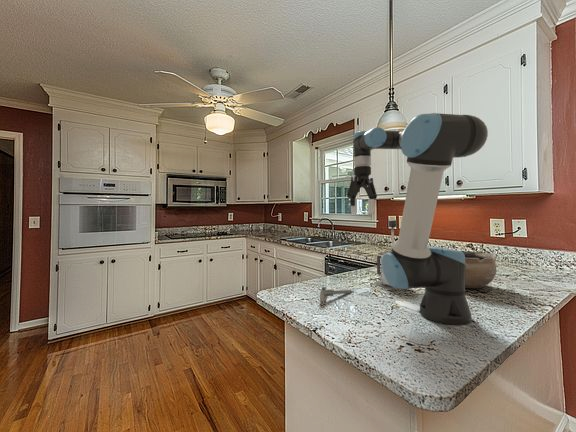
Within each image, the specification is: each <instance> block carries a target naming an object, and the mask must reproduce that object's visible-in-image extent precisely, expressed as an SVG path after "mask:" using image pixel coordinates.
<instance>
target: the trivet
mask: <svg viewBox="0 0 576 432" xmlns="http://www.w3.org/2000/svg"><path fill="white" fill-rule="evenodd" d="M374 284H375V286H377V287H379V288H383V289H387V290H395V291H396V290H405V289H404V288H394V287H388V286H384V285H382V282H381V279H379V280H376V281H375V282H374ZM409 289H410V288H407V289H406V290H409Z"/></svg>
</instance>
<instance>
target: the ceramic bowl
mask: <svg viewBox="0 0 576 432" xmlns="http://www.w3.org/2000/svg"><path fill="white" fill-rule="evenodd" d="M460 251H461V252H463V253H464V255H465V263H466V268H465V289H482V288H484V287H487V286H488V285H489V284H490V283H491V282H493V280H494V279H495V276H496V274H497V265H496V260H497V257H498V256H497V255H495V254H494V253H493V254H492V253H491V254H489V253H485V252H479V251H478V252H477V251H468V250H460Z"/></svg>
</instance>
